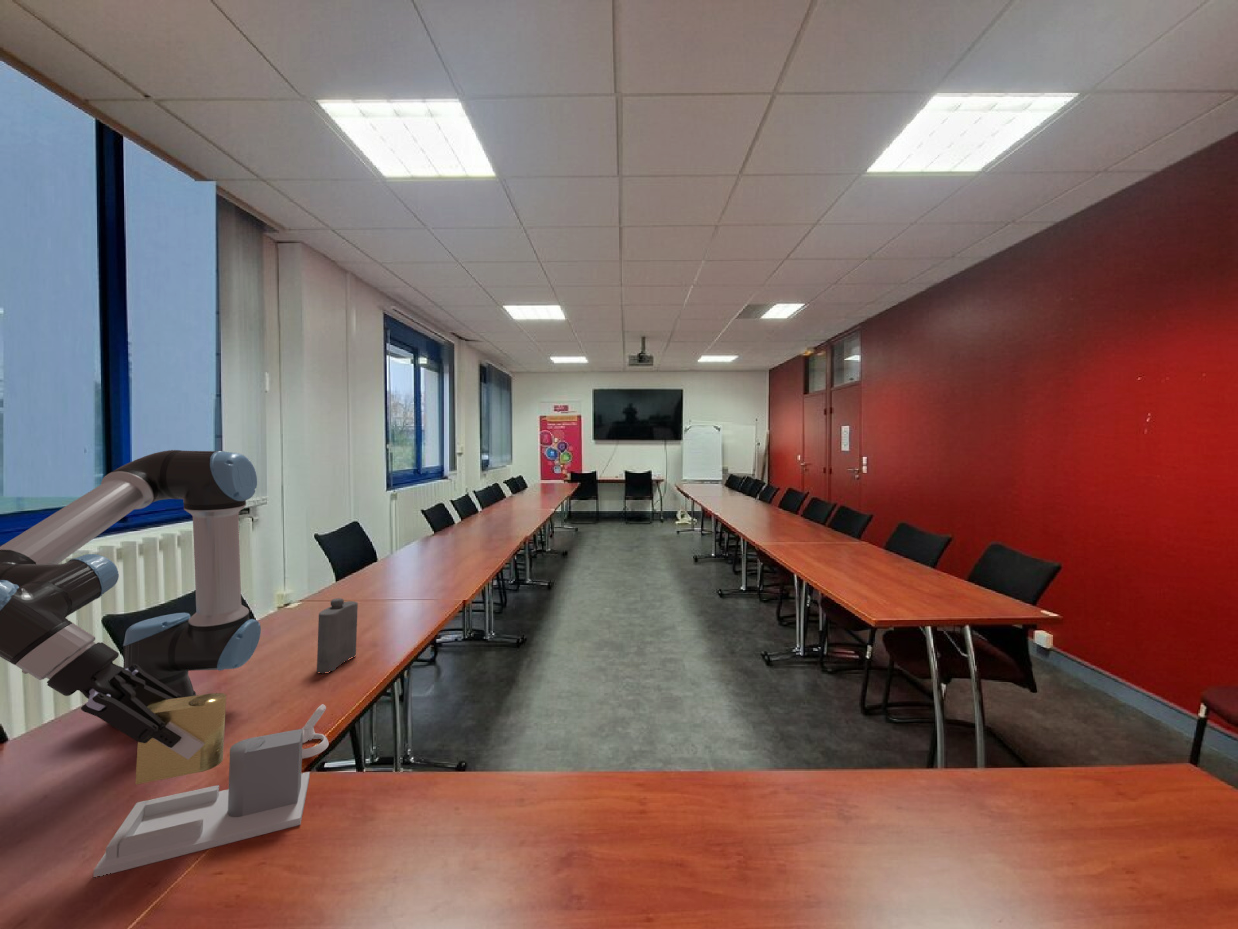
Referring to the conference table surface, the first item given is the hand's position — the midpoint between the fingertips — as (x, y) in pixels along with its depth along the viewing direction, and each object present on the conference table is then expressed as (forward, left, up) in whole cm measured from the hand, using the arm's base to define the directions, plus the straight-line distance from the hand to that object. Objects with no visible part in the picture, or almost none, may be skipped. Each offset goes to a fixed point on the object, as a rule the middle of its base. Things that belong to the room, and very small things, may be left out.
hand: (201, 742), depth 83 cm
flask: (-66, -19, -15) cm, 71 cm away
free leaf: (+1, -2, -4) cm, 4 cm away
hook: (-23, +3, -15) cm, 28 cm away
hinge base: (-1, +2, -14) cm, 15 cm away
